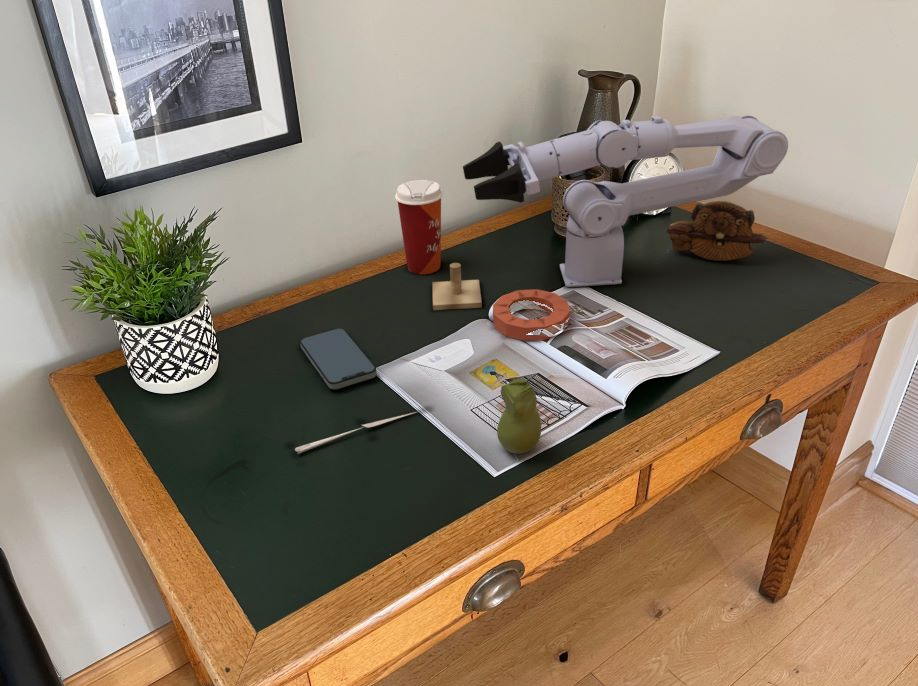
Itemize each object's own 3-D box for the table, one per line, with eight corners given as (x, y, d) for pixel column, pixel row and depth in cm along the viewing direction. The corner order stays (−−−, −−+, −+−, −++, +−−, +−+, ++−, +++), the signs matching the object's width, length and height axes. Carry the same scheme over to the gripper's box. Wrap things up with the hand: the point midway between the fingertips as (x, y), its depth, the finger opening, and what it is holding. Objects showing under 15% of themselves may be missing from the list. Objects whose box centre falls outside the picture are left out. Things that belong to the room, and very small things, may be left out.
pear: (547, 455, 98) (549, 390, 92) (509, 467, 97) (509, 402, 91) (527, 429, 102) (528, 366, 97) (490, 440, 101) (488, 377, 95)
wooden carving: (662, 258, 139) (668, 205, 134) (666, 247, 143) (672, 195, 137) (761, 269, 134) (772, 215, 128) (762, 258, 137) (773, 204, 132)
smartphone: (343, 326, 124) (379, 369, 113) (344, 335, 125) (380, 379, 114) (297, 339, 122) (329, 384, 110) (299, 348, 123) (330, 394, 111)
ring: (562, 300, 129) (563, 287, 128) (573, 338, 120) (574, 325, 118) (491, 304, 130) (490, 291, 128) (496, 342, 120) (496, 329, 119)
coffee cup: (446, 276, 139) (442, 195, 130) (400, 278, 139) (392, 197, 130) (446, 255, 145) (442, 177, 137) (402, 257, 146) (395, 179, 137)
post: (479, 284, 135) (478, 252, 132) (481, 307, 129) (481, 275, 125) (432, 287, 136) (430, 255, 132) (433, 310, 129) (431, 277, 126)
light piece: (434, 410, 105) (299, 456, 99) (434, 416, 106) (300, 462, 99) (421, 395, 108) (289, 439, 102) (421, 401, 109) (290, 445, 102)
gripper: (536, 118, 126) (455, 141, 126) (565, 153, 115) (476, 178, 114) (541, 159, 130) (462, 181, 130) (569, 196, 119) (483, 220, 119)
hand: (469, 182), depth 122 cm, fingers open, 7 cm apart
